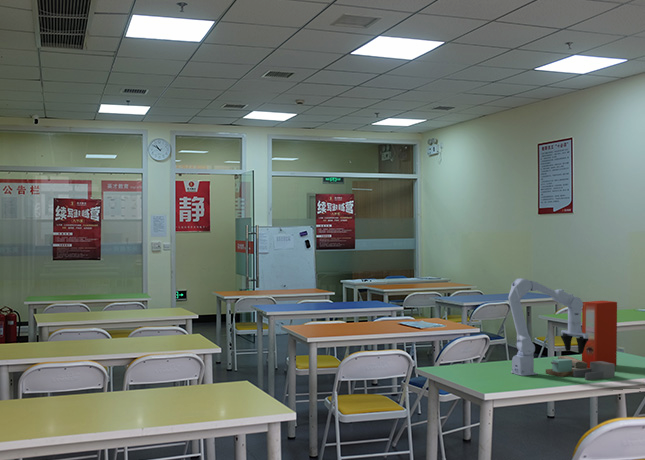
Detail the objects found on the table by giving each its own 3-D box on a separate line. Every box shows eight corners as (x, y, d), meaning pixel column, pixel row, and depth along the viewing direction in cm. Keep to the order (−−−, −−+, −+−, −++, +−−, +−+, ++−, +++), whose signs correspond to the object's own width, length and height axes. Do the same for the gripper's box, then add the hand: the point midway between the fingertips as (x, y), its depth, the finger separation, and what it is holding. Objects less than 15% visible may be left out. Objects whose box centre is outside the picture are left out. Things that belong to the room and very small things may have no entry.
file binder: (617, 366, 319) (617, 301, 319) (596, 369, 309) (596, 303, 310) (602, 363, 325) (602, 300, 326) (581, 367, 316) (581, 301, 316)
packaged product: (553, 355, 322) (572, 355, 324) (553, 365, 322) (572, 364, 324) (573, 362, 305) (592, 361, 306) (572, 372, 305) (592, 371, 306)
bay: (586, 380, 285) (586, 366, 285) (573, 376, 292) (573, 363, 292) (614, 377, 292) (614, 363, 292) (601, 374, 299) (601, 361, 299)
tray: (559, 376, 292) (559, 372, 292) (545, 373, 299) (545, 369, 299) (580, 374, 297) (580, 370, 297) (566, 371, 305) (566, 367, 305)
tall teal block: (556, 374, 294) (556, 361, 294) (550, 372, 297) (550, 359, 298) (571, 372, 298) (571, 359, 298) (565, 371, 301) (565, 358, 302)
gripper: (593, 324, 293) (593, 353, 292) (568, 320, 306) (568, 349, 305) (581, 324, 290) (581, 354, 289) (557, 321, 303) (557, 349, 303)
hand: (574, 352), depth 297 cm, fingers open, 7 cm apart
